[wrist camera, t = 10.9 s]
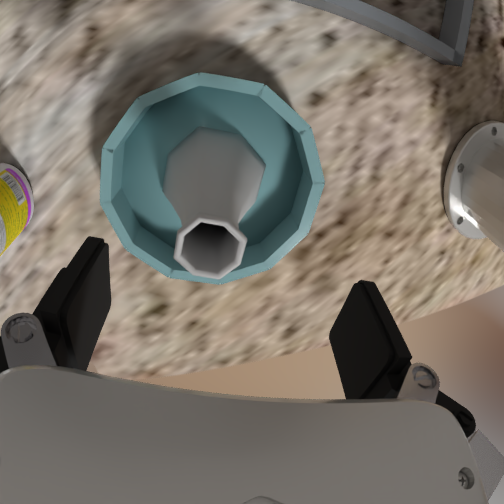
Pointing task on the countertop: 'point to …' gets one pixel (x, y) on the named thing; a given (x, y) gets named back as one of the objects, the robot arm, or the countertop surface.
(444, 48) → the parts tray
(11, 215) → the supplement bottle
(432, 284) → the countertop surface
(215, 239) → the flask
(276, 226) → the bowl
